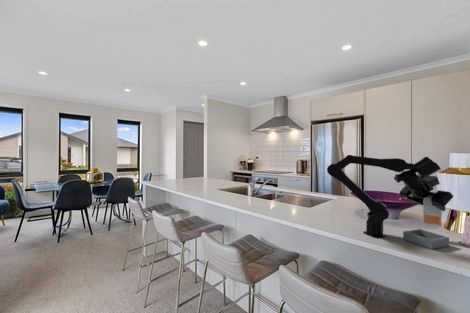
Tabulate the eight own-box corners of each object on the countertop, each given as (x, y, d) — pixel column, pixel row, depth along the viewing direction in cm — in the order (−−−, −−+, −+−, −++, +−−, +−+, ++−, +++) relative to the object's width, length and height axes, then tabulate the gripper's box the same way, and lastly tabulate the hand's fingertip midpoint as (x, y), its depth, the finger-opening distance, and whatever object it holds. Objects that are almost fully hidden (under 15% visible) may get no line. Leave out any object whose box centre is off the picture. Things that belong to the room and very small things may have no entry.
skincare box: (422, 223, 94) (422, 195, 94) (423, 221, 97) (423, 194, 97) (441, 226, 90) (442, 197, 90) (441, 224, 93) (442, 196, 93)
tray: (431, 249, 83) (432, 240, 83) (403, 239, 93) (403, 231, 93) (448, 246, 86) (449, 237, 86) (419, 236, 96) (419, 228, 96)
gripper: (450, 171, 84) (473, 199, 85) (405, 167, 102) (425, 191, 104) (431, 191, 83) (455, 220, 84) (390, 184, 101) (410, 207, 103)
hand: (435, 208), depth 94 cm, fingers closed on skincare box, 7 cm apart
